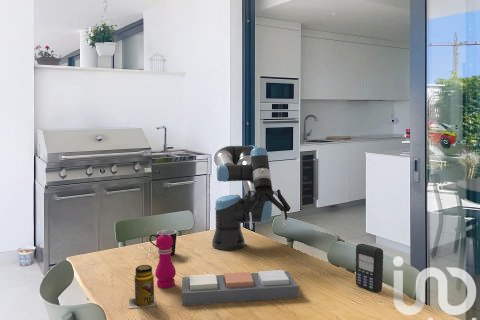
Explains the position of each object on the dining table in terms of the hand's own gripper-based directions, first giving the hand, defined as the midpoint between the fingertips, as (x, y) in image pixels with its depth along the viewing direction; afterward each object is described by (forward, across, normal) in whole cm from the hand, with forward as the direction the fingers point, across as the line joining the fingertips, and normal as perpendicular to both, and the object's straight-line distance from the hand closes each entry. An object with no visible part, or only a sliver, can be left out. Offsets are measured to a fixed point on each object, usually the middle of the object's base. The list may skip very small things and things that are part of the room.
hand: (268, 227), depth 173 cm
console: (+28, -15, -12) cm, 34 cm away
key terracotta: (+26, -15, -14) cm, 33 cm away
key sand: (+26, -27, -14) cm, 40 cm away
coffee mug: (0, -42, +26) cm, 50 cm away
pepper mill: (+21, -40, -3) cm, 46 cm away
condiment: (+30, -47, -15) cm, 58 cm away
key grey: (+26, -3, -14) cm, 29 cm away
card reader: (+30, +30, -14) cm, 44 cm away
